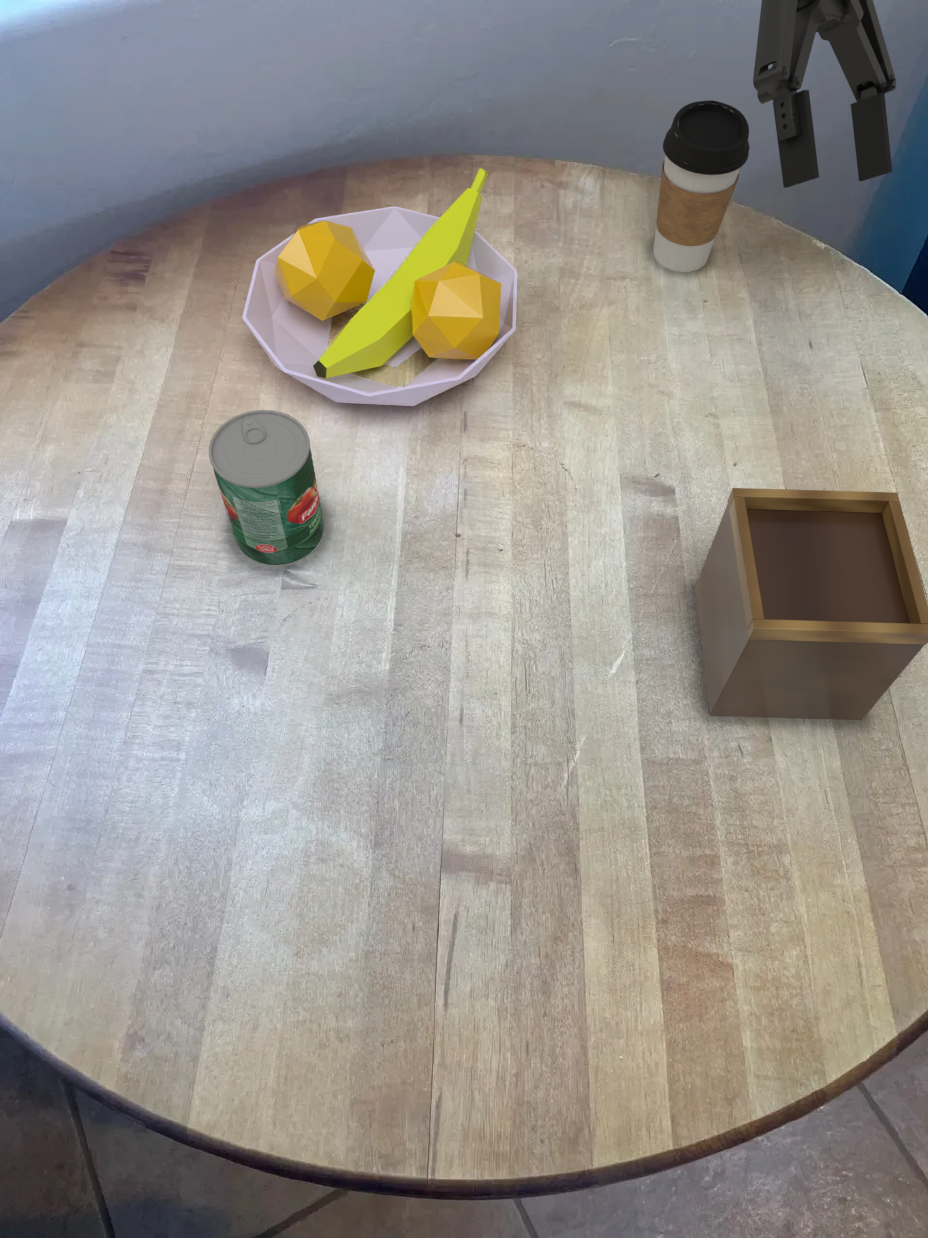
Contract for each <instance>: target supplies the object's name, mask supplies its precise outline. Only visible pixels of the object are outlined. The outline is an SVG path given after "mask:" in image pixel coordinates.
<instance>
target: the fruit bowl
mask: <svg viewBox="0 0 928 1238" xmlns="http://www.w3.org/2000/svg"><path fill="white" fill-rule="evenodd" d="M489 174H490V172H488V171H487V170H485V169H483V168H482V167H479V168H478V170H477V172H476V175H475V177H474V178H473V181H472V183H471V186H470V187H467V188H466V189H464V190H463V192H461V194H460V195H459V196H458V197H457V198H456V199H455V200H454V201H453V202H452V203H451V204H450V205H449V207H448V208H447V209H446V210H445V211H444V212H443V213H442V214H441V215H440V216H437V215H436V216H435V215H432V214H428V213H423V212H419V211H417V210H416V211H415V210H412V209H408V208H405V207H400V206H396V205H394V206H387V207H380V208H375V209H367V210H362V211H355V212H350V213H349V212H348V213H342V214H336V215H330V216H323V217H318V218H314V219H313V220H311V221H310V222H308V223H307V224H303V225H300V226H298V228H297V230H295V232H294V233H293V234H291V235H290V236H288V237H287V238H285V239H284V240H283V241H281V242H280V243H278V244H277V245H276V246H274V247H272V248H270V250H268V251H267V252H265V253H264V254H263V255H261V256H260V257H258V258H257V259H256V260H255V263H254V268H253V272H252V277H251V280H250V284H249V288H248V292H247V297H246V299H245V305H244V308H243V312H242V316H241V319H242V320H243V322H244V323H245V324H246V327H248V329H249V331H250V332H251V333H252V335H253V336H254V338H255V340H256V341H257V343H258V344H259V345H260V346H261V348H262V349H263V351H264V353H265V354H266V355H267V357H268V358H269V359H270V361H271V363H272V364H273V365H274V367H276V368H277V369H279V370H280V371H281V372H283V373H285V374H286V375H288V376H289V377H292V378H294V379H295V380H297V381H298V382H300V383H302V384H304V385H306V386H307V387H308V388H311V389H312V390H314V391H316V392H318V393H319V394H321V395H323V396H325V397H326V398H328V399H329V400H331V401H333V402H335V403H341V404H342V403H343V404H360V405H361V404H365V405H381V406H382V405H385V406H401V407H403V406H406V407H415V406H417V405H420V404H421V403H423V402H425V401H427V400H429V399H431V398H433V397H435V396H438V395H440V394H441V393H442V394H443V393H444V392H446V391H448V390H450V389H453V388H454V387H456V386H459V385H461V384H463V383H465V382H467V381H469V380H471V379H473V378H476V377H477V376H478V374H479V373H480V372H481V371H482V370H483V369H484V368H485V367H486V365H487V364H488V363H489V362H490V360H491V359H492V358H493V357H494V356H495V355H496V354H497V353H498V351H499V350H500V349H501V348H502V347H503V345H504V344H505V343H506V342H507V341H508V339H510V337H511V336H512V335H513V334H514V333H515V331H516V329H517V304H518V303H517V301H518V300H517V299H518V297H517V296H518V270H517V269H516V268H515V267H514V266H513V265H512V264H511V263H510V262H509V261H508V260H507V259H506V258H505V257H504V256H503V255H502V254H501V253H500V252H499V251H498V250H497V249H496V248H494V246H492V244H491V243H489V242H488V241H487V240H486V239H485V237H484V236H483V235H481V234H480V233H479V232H478V231H477V230H476V226H477V222H478V218H479V212H480V209H481V204H482V200H483V195H482V194H481V192H482V190H483V187H484V186H485V183H486V181H487V179H488V176H489ZM363 304H364V305H363ZM361 305H363V306H362V307H361V308H360V309H359V310H358V311H357V312H356V313H355V314H354V315H353V317H351V318H350V319H349V320H348V322H347V323H345V325H344V326H343V327H342V328H341V329H339V330H338V332H337V333H336V335H335V336H334V337H333V339H332V340H331V342H330V343H329V340H330V333H331V329H332V323H333V318H334V317H336V316H337V315H340V314H342V313H344V312H347V311H350V310H351V309H354V308H356V307H359V306H361ZM421 349H422V350H423V351H424V353H425V354H426V355H427V357H428V358H433V359H435V360H433V361H432V362H431V363H430V364H429V365H428V366H426V367H425V368H424V369H423V370H422V371H421V372H419V373H418V374H417V375H416V376H415V377H414V378H413V379H411V380H410V381H409V382H408V383H407V384H405V386H400V387H398V386H396V385H391V384H388V383H385V382H381V381H377V380H374V379H371V378H367V377H364V376H361V375H357V374H353V373H356V372H362V371H366V370H371V369H374V368H378V367H383V365H384V366H388V367H392V368H397V367H399V366H400V365H401V364H403V363H404V362H405V361H407V360H408V359H409V358H410V357H411V356H414V355H415V354H416V353H417V352H418V351H419V350H421Z"/></svg>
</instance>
